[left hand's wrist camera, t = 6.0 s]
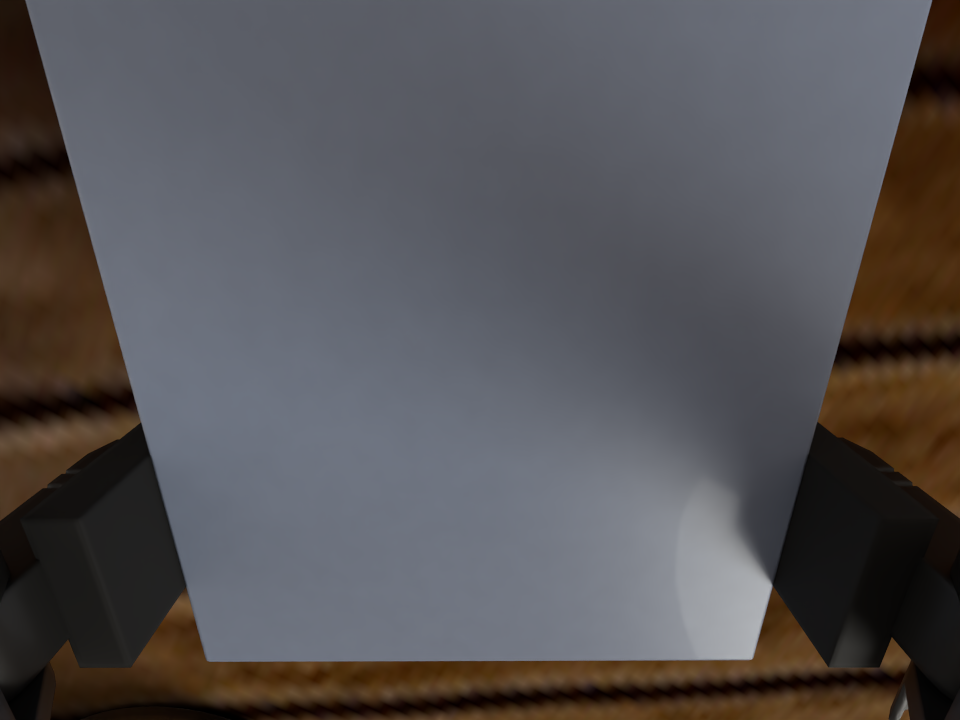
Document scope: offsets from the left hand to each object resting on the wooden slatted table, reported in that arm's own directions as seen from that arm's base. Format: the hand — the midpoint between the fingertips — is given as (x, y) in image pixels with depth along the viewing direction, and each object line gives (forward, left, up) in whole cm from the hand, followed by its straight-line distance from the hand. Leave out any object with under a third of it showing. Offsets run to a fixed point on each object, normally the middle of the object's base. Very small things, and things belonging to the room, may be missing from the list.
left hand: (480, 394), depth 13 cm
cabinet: (+1, +6, -5) cm, 8 cm away
